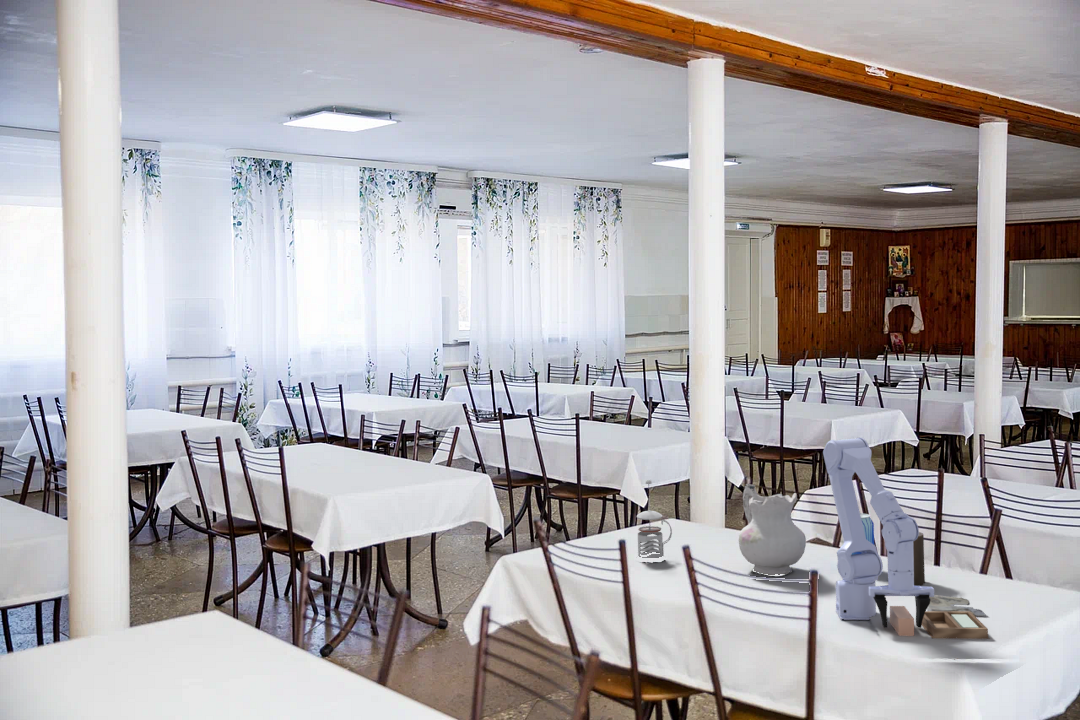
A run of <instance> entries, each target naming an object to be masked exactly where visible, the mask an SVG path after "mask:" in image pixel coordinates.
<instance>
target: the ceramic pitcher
mask: <svg viewBox="0 0 1080 720" xmlns="http://www.w3.org/2000/svg"><path fill="white" fill-rule="evenodd" d="M797 500H798V495H797V493H796V492H794V493H793V494H792V495H791V496H790V495H788V494H787V495H783V494H782V493H777V494H773V495H769V496H761V495H760V494H758V492H757V490H756V485H755V484H750V483H746V484H745V486H744V490H743V493H742V504H743V511H744V513H745V518H746V520H747V522H748V524H747V525H746V526H744V527H743V528H742V529H741V530H740V531H739V534H738V545H739V551H740V552H741V555H742V556H743V557H744V558H745V560H746V561H747V562H749V563H750V564H752V565H754V566H753V568H752V569H754V571H756V572H759V573H763V574H768V575H775V574H778V575H780V574H786V575H788V574H790V573H792V572H793V570H792V567H791V566H793V565H794V564H795V565H796V563H798V562H799V561H800V560H801V559H802V556H803V555H804V554H805V551H806V550H805V549H806V545H807V539H806V538H807V537H806V534H805V533H804V532H803V531H802V529H800V528H799V527H798V526H797V525H796V524H795V523H794V522H793V518H792V512H793V511H792V510H793V508H794V505H795V503H796V502H797ZM791 571H792V572H791ZM789 572H790V573H789Z"/></svg>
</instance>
